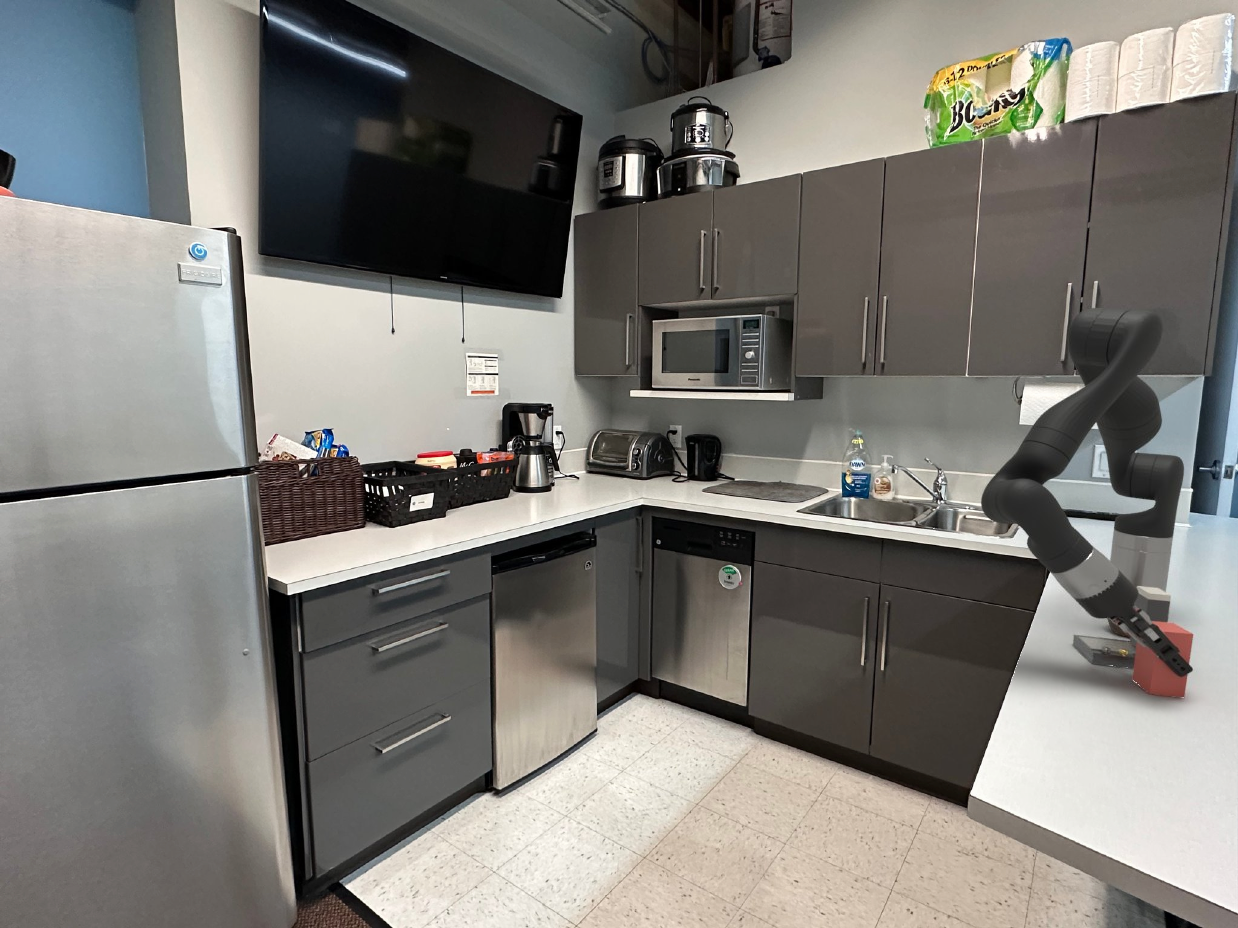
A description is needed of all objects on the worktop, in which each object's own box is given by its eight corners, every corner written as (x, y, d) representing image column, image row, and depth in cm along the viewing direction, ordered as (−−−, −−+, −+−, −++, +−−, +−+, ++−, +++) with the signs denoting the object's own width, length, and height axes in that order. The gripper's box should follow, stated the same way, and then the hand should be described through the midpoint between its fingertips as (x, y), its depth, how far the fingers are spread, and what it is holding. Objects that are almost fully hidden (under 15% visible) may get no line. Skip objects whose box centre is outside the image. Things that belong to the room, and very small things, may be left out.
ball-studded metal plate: (1092, 663, 104) (1095, 635, 103) (1072, 645, 112) (1075, 618, 111) (1186, 675, 100) (1190, 645, 100) (1159, 655, 108) (1163, 627, 107)
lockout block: (1132, 680, 98) (1139, 620, 97) (1164, 683, 97) (1173, 622, 96) (1149, 694, 94) (1158, 631, 93) (1184, 697, 93) (1193, 634, 92)
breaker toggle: (1141, 651, 103) (1149, 593, 102) (1129, 641, 107) (1136, 585, 106) (1163, 653, 103) (1171, 595, 101) (1150, 644, 106) (1157, 587, 105)
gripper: (1138, 579, 89) (1230, 671, 87) (1093, 553, 102) (1172, 633, 100) (1090, 610, 91) (1179, 701, 89) (1053, 581, 104) (1129, 659, 102)
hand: (1175, 664), depth 95 cm, fingers closed on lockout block, 4 cm apart
